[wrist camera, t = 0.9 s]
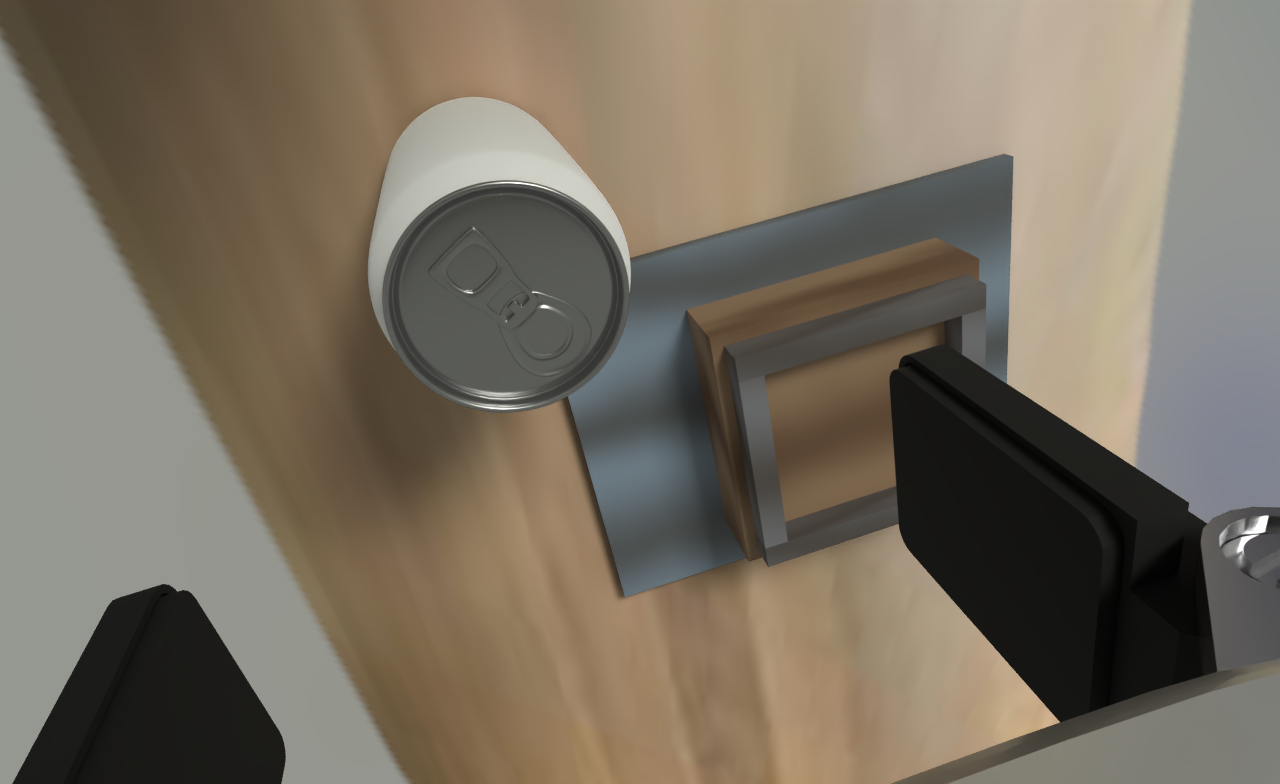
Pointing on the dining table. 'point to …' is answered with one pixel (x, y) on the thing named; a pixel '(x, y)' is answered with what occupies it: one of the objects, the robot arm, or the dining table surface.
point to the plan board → (662, 373)
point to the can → (495, 259)
